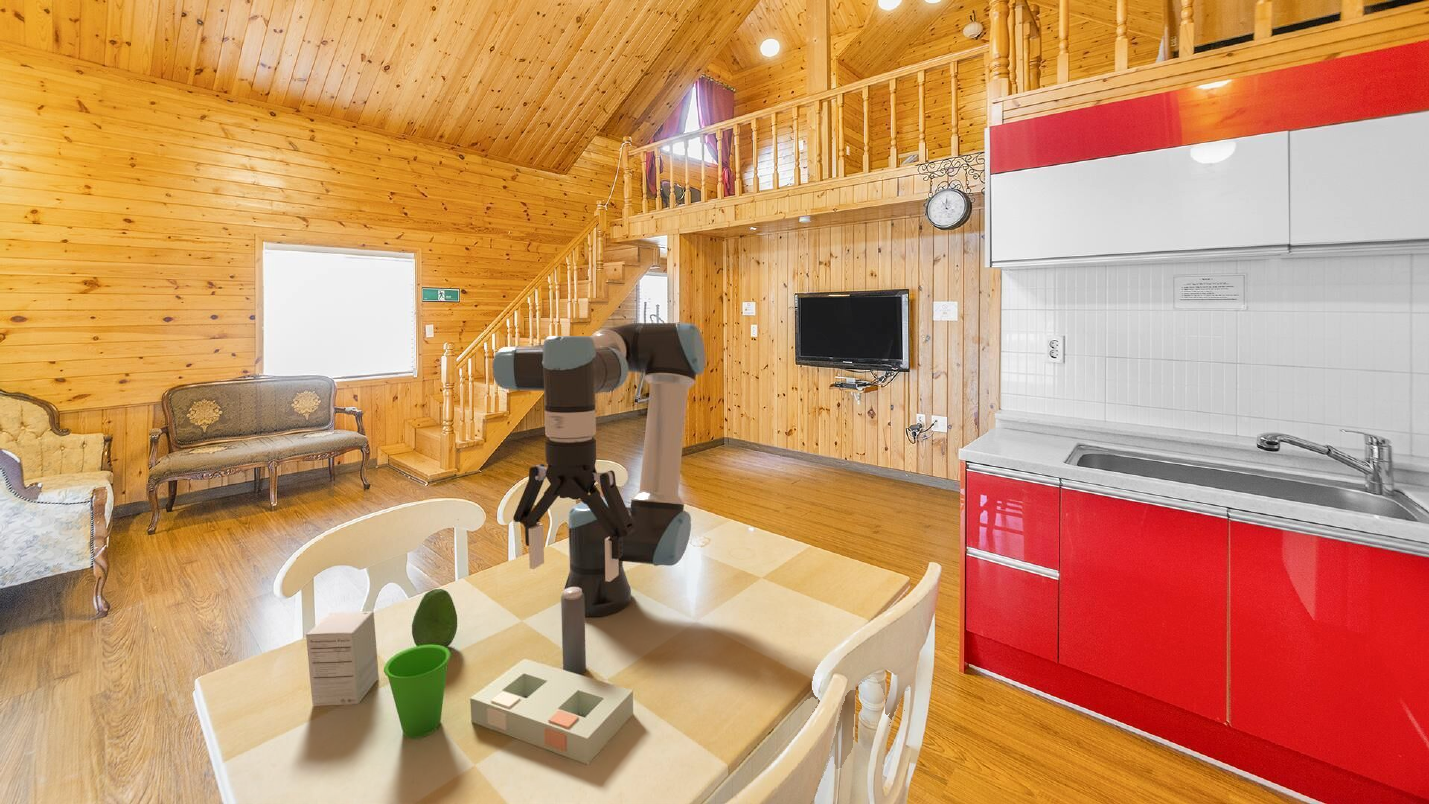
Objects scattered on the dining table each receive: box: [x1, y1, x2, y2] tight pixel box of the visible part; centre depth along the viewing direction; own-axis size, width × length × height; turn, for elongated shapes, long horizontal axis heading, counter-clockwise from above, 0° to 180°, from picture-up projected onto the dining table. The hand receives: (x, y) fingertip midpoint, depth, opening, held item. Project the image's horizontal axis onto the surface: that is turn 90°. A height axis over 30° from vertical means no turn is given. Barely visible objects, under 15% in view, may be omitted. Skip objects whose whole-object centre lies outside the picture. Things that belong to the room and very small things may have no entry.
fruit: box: [411, 588, 458, 649], centre depth 110 cm, size 8×8×12 cm
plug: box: [560, 587, 587, 675], centre depth 104 cm, size 4×4×15 cm
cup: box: [383, 645, 452, 739], centre depth 89 cm, size 9×9×11 cm
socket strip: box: [469, 658, 634, 765], centre depth 91 cm, size 22×12×4 cm, turn 66°
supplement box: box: [305, 610, 380, 707], centre depth 97 cm, size 7×7×13 cm
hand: (573, 572), depth 91 cm, fingers open, 13 cm apart
